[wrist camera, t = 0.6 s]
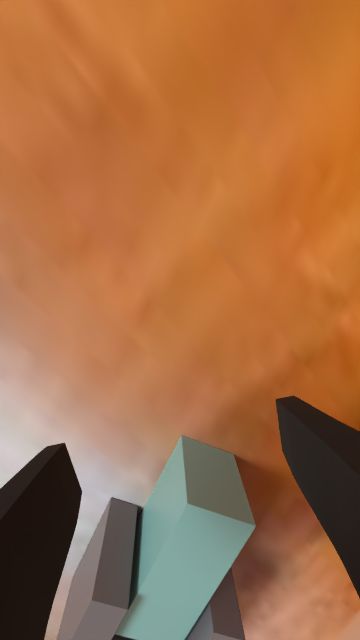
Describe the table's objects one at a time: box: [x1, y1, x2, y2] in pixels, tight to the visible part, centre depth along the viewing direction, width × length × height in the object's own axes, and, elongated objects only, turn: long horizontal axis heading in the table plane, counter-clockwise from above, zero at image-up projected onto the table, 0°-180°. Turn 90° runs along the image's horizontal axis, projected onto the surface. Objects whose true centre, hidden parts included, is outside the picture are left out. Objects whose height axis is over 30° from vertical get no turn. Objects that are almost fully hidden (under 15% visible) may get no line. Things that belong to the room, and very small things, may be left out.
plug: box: [115, 435, 256, 640], centre depth 21 cm, size 4×10×6 cm, turn 155°
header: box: [57, 498, 245, 640], centre depth 22 cm, size 9×14×7 cm, turn 155°
